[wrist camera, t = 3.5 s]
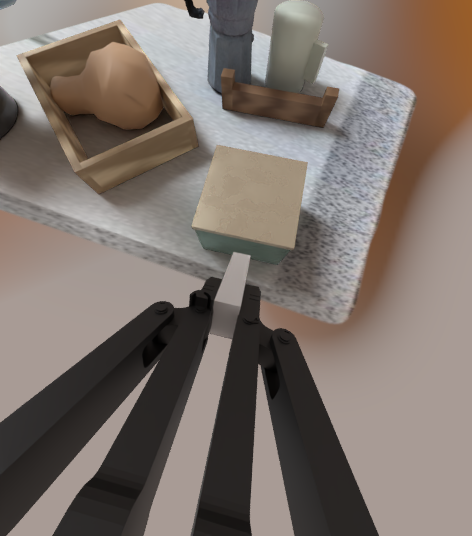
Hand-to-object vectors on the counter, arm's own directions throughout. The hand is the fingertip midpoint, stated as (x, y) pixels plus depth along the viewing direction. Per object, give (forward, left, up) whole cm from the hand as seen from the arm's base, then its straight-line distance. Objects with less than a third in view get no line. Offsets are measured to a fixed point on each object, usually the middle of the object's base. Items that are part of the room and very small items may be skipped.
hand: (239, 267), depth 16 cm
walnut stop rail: (-25, +24, -12) cm, 37 cm away
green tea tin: (-8, +7, -12) cm, 17 cm away
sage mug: (-30, +32, -12) cm, 45 cm away
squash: (-40, -2, -12) cm, 42 cm away
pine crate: (-40, -2, -12) cm, 42 cm away
